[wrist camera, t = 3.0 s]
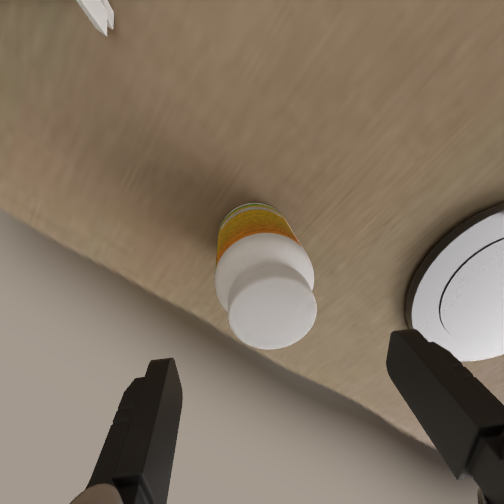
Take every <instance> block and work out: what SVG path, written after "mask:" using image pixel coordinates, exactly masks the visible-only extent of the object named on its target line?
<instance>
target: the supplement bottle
mask: <svg viewBox="0 0 504 504" xmlns="http://www.w3.org/2000/svg"><path fill="white" fill-rule="evenodd" d="M313 286H314V271H313V267H312V264H311V261H310V259H309V257H308V255H307V253H306V252H305V250H304V249H303V247H302V245H301V244H300V242H299V240H298V239H297V237H296V236H295V234H294V232H293V231H292V229H291V227H290V226H289V224H288V222H287V221H286V219H285V218H284V217H283V215H282V214H281V213H280V212H279V211H277V210H276V209H275V208H273V207H271V206H269V205H266V204H262V203H248V204H244V205H241V206H239V207H237V208H235V209H233V210H232V211H231V212H230V213H229V214H228V215H227V216H226V217H225V218H224V220H223V221H222V223H221V226H220V229H219V233H218V244H217V257H216V269H215V289H216V293H217V296H218V299H219V301H220V303H221V304H222V306H223V307H224V309H225V310H226V311H227V312H228V321H229V324H230V327H231V329H232V331H233V333H234V334H235V335H236V337H237V338H238V339H240V340H241V341H242V342H244V343H245V344H247V345H249V346H252V347H255V348H259V349H267V350H268V349H279V348H283V347H286V346H289V345H291V344H293V343H295V342H297V341H299V340H300V339H301V338H303V337H304V336H305V335H306V334H307V333H308V331H309V330H310V329H311V327H312V326H313V324H314V321H315V319H316V314H317V305H316V300H315V297H314V295H313V293H312V290H313Z"/></svg>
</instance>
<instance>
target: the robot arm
mask: <svg viewBox="0 0 504 504" xmlns="http://www.w3.org/2000/svg"><path fill="white" fill-rule="evenodd" d="M386 366H387V371H388V374H389V376H390V378H391V380H392V381H393V383H394V384H395V386H396V387H397V389H398V391H399V392H400V394H401V395H402V397H403V398H404V400H405V401H406V403H407V404H408V406H409V407H410V409H411V410H412V412H413V413H414V415H415V416H416V418H417V419H418V421H419V422H420V424H421V425H422V427H423V429H424V430H425V432H426V433H427V435H428V436H429V438H430V439H431V441H432V442H433V444H434V445H435V447H436V448H437V450H438V451H439V453H440V454H441V456H442V457H443V459H444V460H445V462H446V463H447V465H448V467H449V468H450V470H451V471H452V473H453V474H454V476H455V477H456V479H457V480H460V479H466V478H473V479H474V480H475V482H476V483H477V485H478V486H479V489H478V504H504V405H503V404H502V403H501V402H500V401H499V400H498V399H497V398H496V397H495V396H494V395H493V394H492V393H491V392H490V391H489V390H488V389H487V388H486V387H485V386H484V385H483V384H482V383H481V382H480V381H479V380H478V379H477V378H476V377H475V378H474V377H473V374H472V373H471V372H470V371H469V370H468V369H467V368H466V367H463V365H462V363H461V362H460V361H459V360H458V359H457V358H456V357H455V356H454V355H453V354H452V353H451V352H450V351H448V350H446V349H445V348H443V347H442V346H440V345H438V344H437V343H435V342H428V340H427V339H426V338H425V337H424V336H423V335H422V334H421V333H420V332H419V331H418V330H416V329H407V330H399V331H393V332H392V333H391V336H390V342H389V348H388V354H387V360H386ZM181 409H182V387H181V383H180V379H179V375H178V371H177V368H176V364H175V360H174V359H173V358H166V359H159V360H151V361H150V363H149V366H148V368H147V372H146V375H145V377H141V378H136V379H134V381H133V382H132V383H131V385H130V386H129V387H128V388H127V389H126V391H125V392H124V394H123V397H122V399H121V402H120V404H119V407H118V411H117V412H116V415H115V417H114V420H113V425H111V428H110V430H109V433H108V435H107V438H106V440H105V443H104V446H103V448H102V451H101V453H100V456H99V459H98V461H97V463H96V466H95V469H94V471H93V474H92V477H91V479H90V481H89V483H88V485H87V487H86V489H85V490H84V491H83V492H82V493H80V494H79V495H78V496H77V497H76V498H75V499H74V500H73V501H72V502H71V503H70V504H166V503H167V496H168V490H169V484H170V478H171V471H172V465H173V459H174V453H175V446H176V440H177V433H178V428H179V421H180V414H181Z"/></svg>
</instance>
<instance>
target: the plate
mask: <svg viewBox="0 0 504 504" xmlns="http://www.w3.org/2000/svg"><path fill="white" fill-rule="evenodd" d="M405 311H406V320H407V323H408V327H409V329H416V330H418V331H419V332H420V333H421V334H422V335H423V336H424V337H425V338H426V339H427V340H428V342H435V343H437V344H438V345H440V346H442V347H443V348H445V349H446V350H448V351H450V352H451V353H452V354H453V355H454V356H455V357H456V358H457V359H458V360H459V361H478V360H484V359H489V358H493V357H496V356H500V355H503V354H504V203H503V204H500V205H497V206H494V207H491V208H489V209H487V210H485V211H482V212H480V213H478V214H476V215H475V216H473V217H471V218H469V219H467V220H466V221H464V222H463V223H462V224H460V225H459V226H457V227H456V228H454V229H453V230H452V231H451V232H450V233H448V234H447V235H446V236H445V237H444V238H442V240H441V241H440V242H439V243H438V244H437V245H436V246H435V247H434V248H433V249H432V250H431V251H430V252H429V254H428V255H427V256H426V257H425V259H424V260H423V262H422V263H421V265H420V266H419V268H418V269H417V271H416V273H415V275H414V277H413V279H412V281H411V284H410V287H409V290H408V294H407V298H406V308H405Z"/></svg>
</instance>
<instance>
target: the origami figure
mask: <svg viewBox="0 0 504 504" xmlns="http://www.w3.org/2000/svg"><path fill="white" fill-rule="evenodd" d="M76 1H77V3H78V4H79V5H80V7H81V8H82V10H83V11H84V12H85V14H86V15H87V17H88V18H89V19H90V21H91V22H92V24H93V25H94V26H95V28H96V29H97V30H98V31H100V32H101V33H103V34H104V35H105V36H107V27H109V28H111V29H112V30H113V24H114V12H113V10H112V8H111V6H110V4H109V2H108V1H107V0H76Z"/></svg>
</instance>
